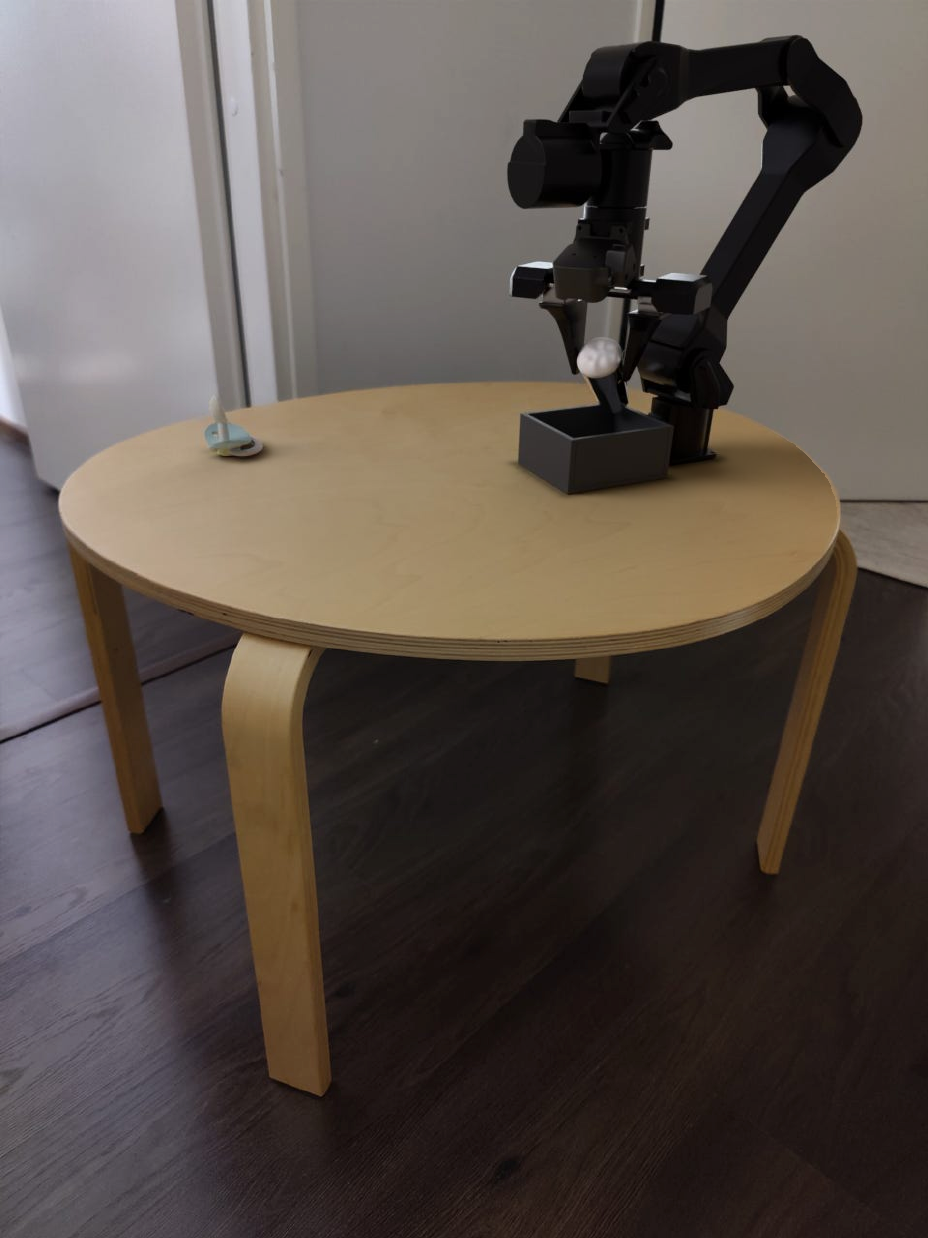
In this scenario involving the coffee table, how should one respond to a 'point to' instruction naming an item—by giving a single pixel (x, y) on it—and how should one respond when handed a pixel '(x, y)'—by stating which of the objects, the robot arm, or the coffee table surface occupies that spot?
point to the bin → (594, 447)
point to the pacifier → (228, 434)
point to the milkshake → (604, 373)
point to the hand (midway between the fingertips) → (600, 377)
